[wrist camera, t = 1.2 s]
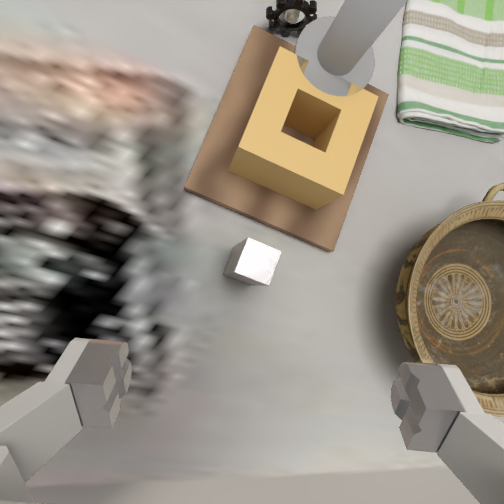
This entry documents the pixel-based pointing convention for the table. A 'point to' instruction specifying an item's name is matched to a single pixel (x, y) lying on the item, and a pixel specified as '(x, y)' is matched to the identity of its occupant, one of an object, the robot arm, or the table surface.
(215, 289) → the table surface
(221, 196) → the base board
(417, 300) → the ceramic bowl
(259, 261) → the square peg
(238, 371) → the table surface
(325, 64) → the square hole block
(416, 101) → the dish towel
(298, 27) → the valve
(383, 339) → the table surface
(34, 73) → the table surface
